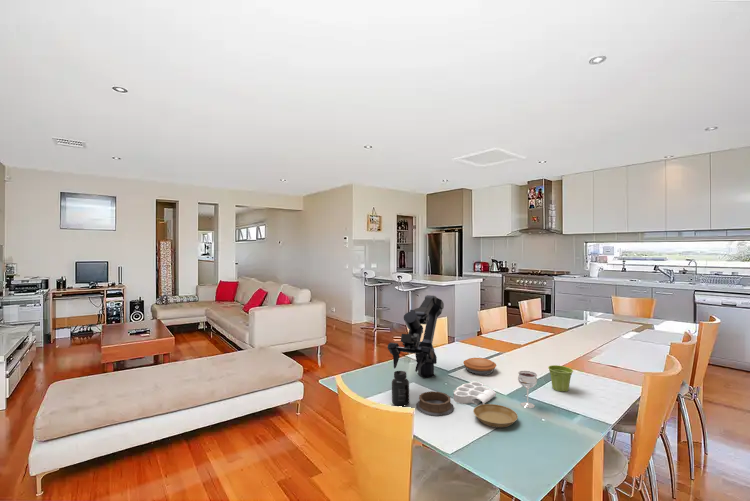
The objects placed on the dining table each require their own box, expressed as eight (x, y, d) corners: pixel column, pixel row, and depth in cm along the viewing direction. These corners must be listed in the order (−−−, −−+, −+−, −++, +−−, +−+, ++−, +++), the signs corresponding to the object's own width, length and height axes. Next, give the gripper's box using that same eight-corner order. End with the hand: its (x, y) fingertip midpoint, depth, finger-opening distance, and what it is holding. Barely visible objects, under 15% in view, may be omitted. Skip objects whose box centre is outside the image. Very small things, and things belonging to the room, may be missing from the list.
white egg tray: (479, 410, 134) (445, 399, 144) (499, 395, 147) (466, 386, 157) (479, 402, 134) (445, 391, 144) (499, 387, 147) (466, 378, 157)
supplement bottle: (411, 401, 141) (411, 371, 141) (405, 408, 135) (405, 376, 135) (395, 398, 144) (395, 368, 144) (389, 405, 138) (388, 374, 138)
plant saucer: (465, 420, 126) (465, 413, 126) (486, 406, 137) (486, 400, 137) (505, 436, 116) (505, 428, 116) (524, 420, 126) (524, 412, 126)
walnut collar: (441, 397, 145) (441, 388, 145) (461, 412, 132) (461, 402, 132) (410, 402, 140) (410, 393, 140) (427, 418, 127) (427, 408, 127)
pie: (500, 376, 167) (500, 366, 167) (467, 376, 168) (467, 366, 167) (490, 365, 183) (490, 355, 183) (460, 365, 183) (460, 355, 183)
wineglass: (535, 410, 133) (535, 378, 132) (516, 406, 136) (516, 374, 136) (538, 403, 138) (538, 372, 138) (519, 399, 142) (519, 369, 142)
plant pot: (552, 383, 159) (552, 363, 159) (576, 389, 152) (576, 368, 152) (544, 389, 152) (544, 368, 152) (568, 395, 145) (568, 374, 145)
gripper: (388, 323, 153) (377, 356, 143) (431, 327, 145) (422, 363, 135) (396, 337, 160) (386, 370, 150) (436, 342, 152) (429, 377, 142)
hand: (405, 369), depth 144 cm, fingers open, 9 cm apart
